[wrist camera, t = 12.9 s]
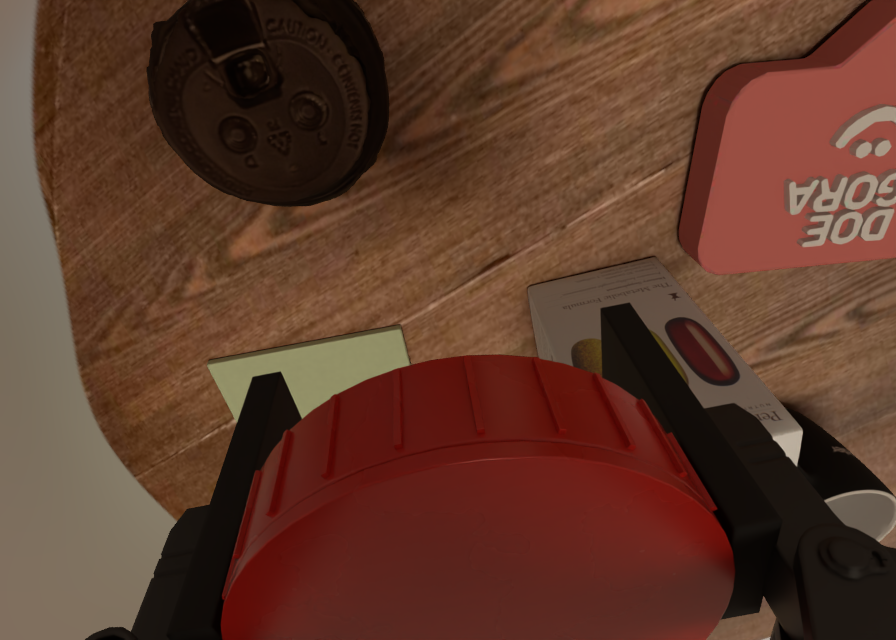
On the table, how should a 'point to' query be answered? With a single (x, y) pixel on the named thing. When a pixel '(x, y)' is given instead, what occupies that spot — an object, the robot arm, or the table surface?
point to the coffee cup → (271, 96)
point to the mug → (844, 481)
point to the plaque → (799, 157)
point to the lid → (478, 515)
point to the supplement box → (673, 326)
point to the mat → (313, 366)
